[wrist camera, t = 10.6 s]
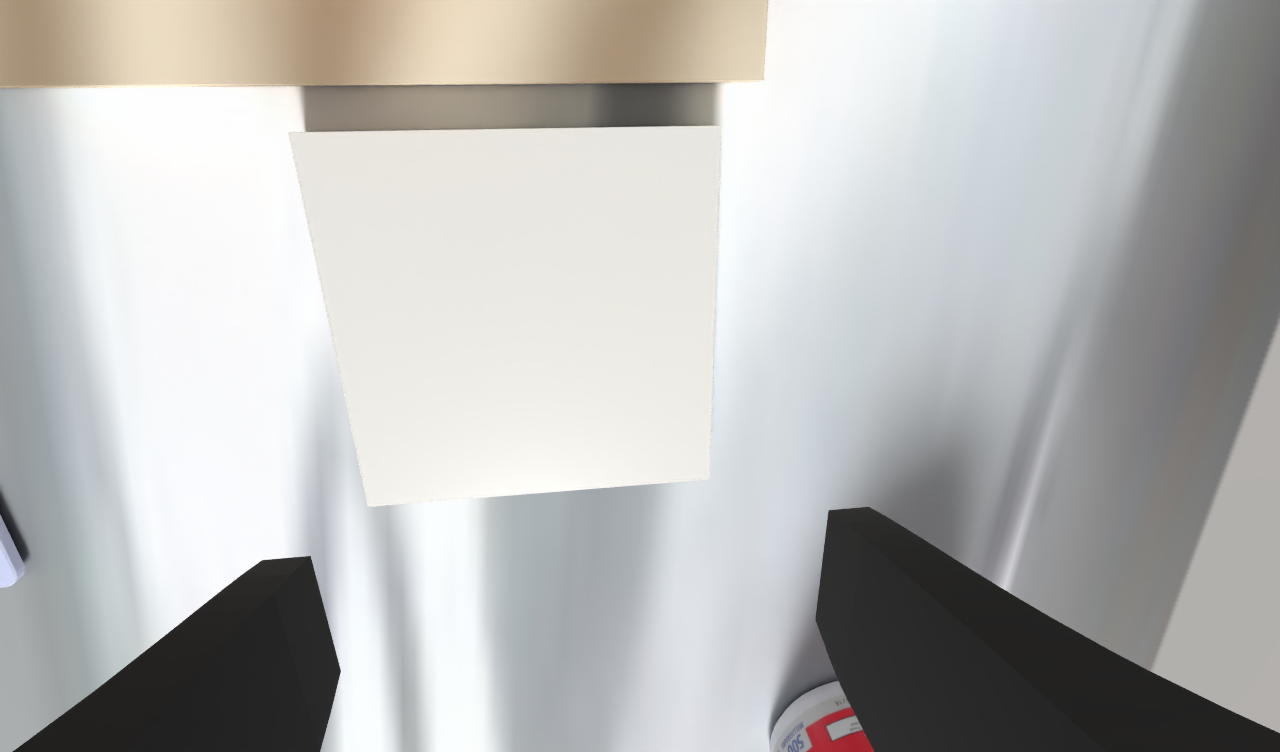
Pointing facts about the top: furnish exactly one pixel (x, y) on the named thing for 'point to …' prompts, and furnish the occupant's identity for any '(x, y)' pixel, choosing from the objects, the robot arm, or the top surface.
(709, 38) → the beige flat block
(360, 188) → the white square plate
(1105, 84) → the top surface
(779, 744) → the pill bottle
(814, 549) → the top surface
